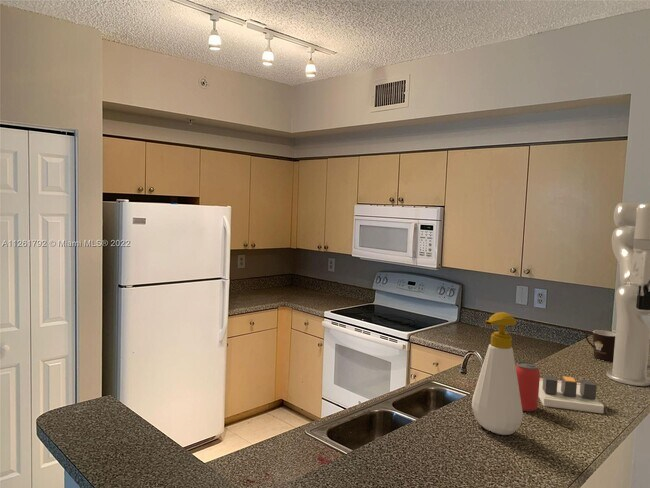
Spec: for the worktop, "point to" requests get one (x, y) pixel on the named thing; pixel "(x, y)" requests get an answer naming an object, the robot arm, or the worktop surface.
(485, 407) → the soap bottle
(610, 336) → the coffee mug
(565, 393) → the block
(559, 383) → the breaker panel
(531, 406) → the beer can
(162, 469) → the worktop surface
